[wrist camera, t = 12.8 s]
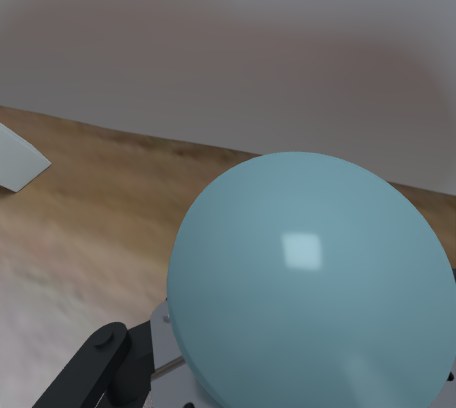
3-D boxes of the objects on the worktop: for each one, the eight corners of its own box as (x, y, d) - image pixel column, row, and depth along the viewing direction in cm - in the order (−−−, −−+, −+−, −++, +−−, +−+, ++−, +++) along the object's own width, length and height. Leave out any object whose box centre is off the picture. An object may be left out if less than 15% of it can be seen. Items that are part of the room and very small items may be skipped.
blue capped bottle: (289, 347, 14) (564, 691, 2) (215, 316, 15) (60, 387, 3) (305, 268, 16) (496, 160, 4) (238, 246, 17) (206, 107, 5)
